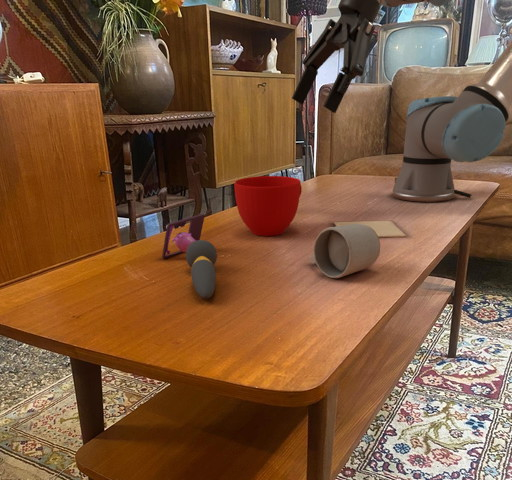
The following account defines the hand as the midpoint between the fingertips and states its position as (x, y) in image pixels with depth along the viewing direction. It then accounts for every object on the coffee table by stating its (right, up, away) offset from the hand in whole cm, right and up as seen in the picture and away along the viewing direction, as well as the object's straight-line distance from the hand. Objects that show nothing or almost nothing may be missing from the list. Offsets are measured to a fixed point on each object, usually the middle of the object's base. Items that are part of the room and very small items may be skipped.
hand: (312, 105), depth 105 cm
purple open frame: (-23, -33, -13) cm, 42 cm away
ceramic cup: (-8, -25, +2) cm, 26 cm away
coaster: (+11, -25, 0) cm, 28 cm away
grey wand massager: (-19, -39, -25) cm, 50 cm away
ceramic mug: (+2, -37, -23) cm, 43 cm away
